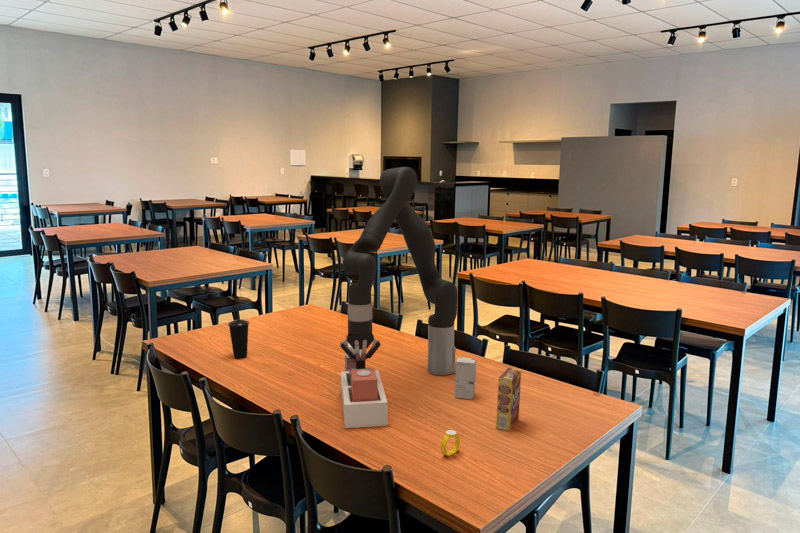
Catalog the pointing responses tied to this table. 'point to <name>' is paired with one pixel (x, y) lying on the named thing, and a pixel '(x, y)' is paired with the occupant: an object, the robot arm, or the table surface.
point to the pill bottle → (348, 361)
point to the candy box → (508, 399)
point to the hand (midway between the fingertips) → (360, 371)
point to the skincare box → (465, 378)
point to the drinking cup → (239, 337)
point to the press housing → (363, 406)
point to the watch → (443, 446)
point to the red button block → (364, 385)
